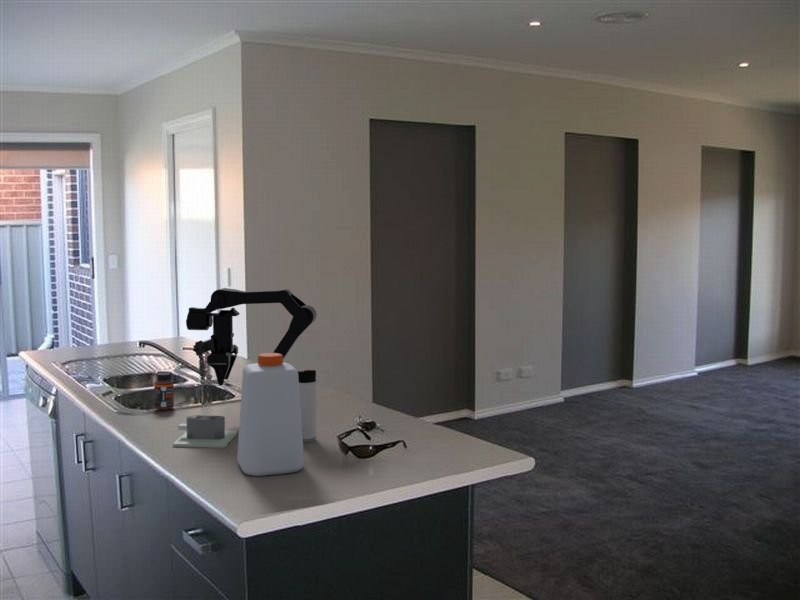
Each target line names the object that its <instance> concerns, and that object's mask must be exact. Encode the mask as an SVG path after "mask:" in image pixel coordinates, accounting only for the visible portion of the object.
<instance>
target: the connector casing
mask: <svg viewBox="0 0 800 600" xmlns="http://www.w3.org/2000/svg"><path fill="white" fill-rule="evenodd" d="M225 419H226V417H225V416H223V415H208V414H207V415H202V414H201V415H200V414H198V415H188V416H186V423H180V424H179V425H178V426H177V427H178V431H187V438H189V439H223V438H225V431H226V429H225V428H226V424H225V423H226V420H225Z"/></svg>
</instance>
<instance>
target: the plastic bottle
mask: <svg viewBox="0 0 800 600" xmlns="http://www.w3.org/2000/svg"><path fill="white" fill-rule="evenodd" d="M298 371H299V370H297V369H296V368H295V367H294V366H293V365H291V364H290V363H288V362H284V360H283V355H282V354H279V353H273V352H264V353H260V354H258V355H257V362H256V363H249V364H246V365H245V366H244V367H243V369H242V379H241V381H242V382H241V393H240V394H241V396H240V397H241V398H240V410H239V411H240V413H239V424H238V425H239V427H238V440H237V457H236V460H237V463H238V465H239V467H240V468H241V471H242V472H243V473H244V474H245V475H249V476H252V477H253V476H254V477H263V476H265V477H266V476H275V475H283V474H285V475H286V474H292V473H296V472H300V471H301V470H302V469H303V467H304V465H305V457H304V456H305V455H304V443H303V439H302V424H301V408H300V393H299V378H298Z"/></svg>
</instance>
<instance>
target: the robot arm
mask: <svg viewBox="0 0 800 600" xmlns="http://www.w3.org/2000/svg"><path fill="white" fill-rule="evenodd" d="M253 304H254V305H255V304H258V305H261V304H281V305H282V306H283V307H284V309H286V311H287V312H288V313H289V314H290V315H291V316H292V319H291V321H290V324H289V326H288V328H287V331H286V333H285V334H284V336H283V337H282V338H281V340H280V342H278V345H277V346H276V348H275V349H274V350H273V352H272V353H279V354H282V355H283V361H284V359H285V358H286V357H287V355H288V354H289V352H290V351H291V349H292V348H293V347H294V345H295V343H296V342H297V340H298V339H299V337H300V336H301V335H302V334H303V333H304V332H305V331H306V330H307V329H308V328H309V327H310V326H311V325H312V324H313V323H315V321H316V319H317V310H316V309H315V307H313V306H312V305H307V304H306V303H305V302H304V301H303V300H301V299H300V298H299V297H297V296H296V295H294V294H293V292H291V290H289V289H288V288H287V289H286V288H284V289H274V290H272V289H271V290H270V289H269V290H267V289H266V290H249V291H248V290H247V291H246V290H240V289H239V290H238V289H235V288H227V287H223V288H219V289H216V290H214V291H213V292H212V294H211V296H210V300H209V302H208V304H207V305H206V306H205V307H193V306H191V307H188V313H187V315H186V319H185V324H186V329H187V331H208V330H209V329H210V328H212V334H211V336H210V338H209V339H207V340H206V339H205V340H204V341H203V340H202V339H201V340H199V341H195V343H194V345H193V346H192V348H193V352H195V355H196V356H200V355H202V354H204V353H208V352H210V353H209V354H208V355H207V356H206V364H208V366H210V367H211V368H212V369H213V370H214V373H215V376H216V380H217V384H218V386H220V387H221V386H224V383H225V380H228V379H229V377H230V374H231V372H232V370H233V367H234V365H235V362H236V359H237V358H238V354H239V347H238V346H237V344H234V339H233V338H234V337H235V333H234V332H233V330H234V329H233V319H234V318H233V317H237V316H239V315H240V312H239V311H238V310H237V309H236V308H235V307H236V306H240V305H253ZM229 308H230V309H229ZM218 310H219V312H215V311H218Z"/></svg>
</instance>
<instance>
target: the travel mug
mask: <svg viewBox="0 0 800 600" xmlns="http://www.w3.org/2000/svg"><path fill="white" fill-rule="evenodd" d="M297 371H298V378H299V393H300V408H301V424H302V439H303V444H309V443H313V442H315V441H316V440H317V379H316V378H317V371H316V370H315V369H307V370H306V369H305V370H301V371H299V370H297Z"/></svg>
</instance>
